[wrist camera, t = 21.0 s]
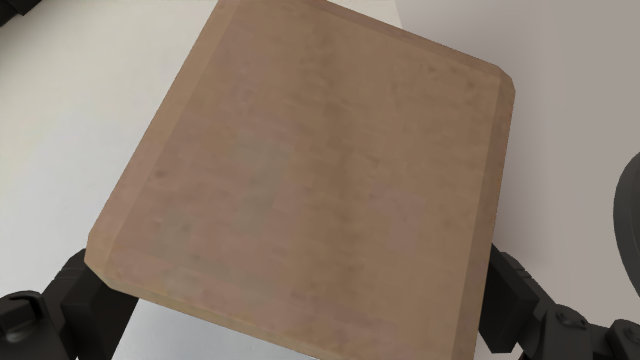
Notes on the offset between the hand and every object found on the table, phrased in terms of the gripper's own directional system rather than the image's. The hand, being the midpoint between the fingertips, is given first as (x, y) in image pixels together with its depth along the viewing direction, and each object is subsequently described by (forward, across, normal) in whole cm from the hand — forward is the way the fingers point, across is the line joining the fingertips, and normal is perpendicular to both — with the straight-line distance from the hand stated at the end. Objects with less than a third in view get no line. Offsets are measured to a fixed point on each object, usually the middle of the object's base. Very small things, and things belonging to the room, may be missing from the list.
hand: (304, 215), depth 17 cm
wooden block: (+9, 0, -8) cm, 12 cm away
